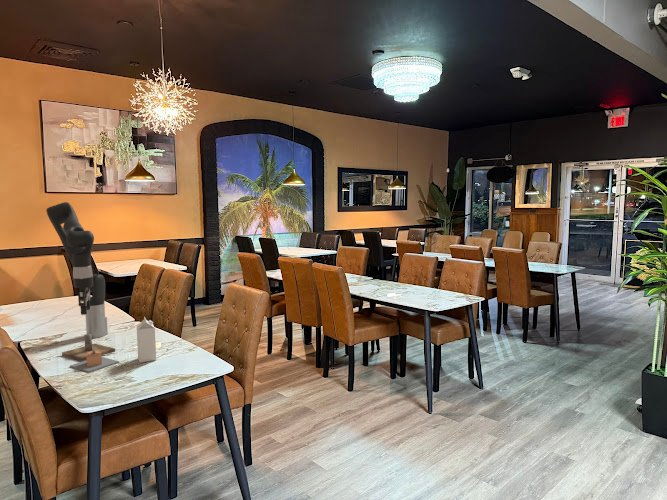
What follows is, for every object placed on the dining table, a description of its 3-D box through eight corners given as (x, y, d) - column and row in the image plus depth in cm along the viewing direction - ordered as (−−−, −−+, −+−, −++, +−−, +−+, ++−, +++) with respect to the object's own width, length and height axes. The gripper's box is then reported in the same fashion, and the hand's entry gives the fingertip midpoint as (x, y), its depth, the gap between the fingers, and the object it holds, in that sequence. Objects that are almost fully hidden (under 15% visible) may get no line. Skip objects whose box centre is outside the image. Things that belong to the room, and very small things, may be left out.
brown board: (94, 346, 227) (93, 328, 226) (115, 351, 219) (114, 333, 218) (62, 355, 213) (60, 336, 212) (82, 361, 205) (81, 341, 205)
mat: (100, 357, 210) (99, 356, 210) (119, 362, 204) (119, 361, 204) (69, 366, 198) (69, 365, 198) (89, 372, 191) (89, 371, 191)
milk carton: (139, 363, 203) (137, 321, 201) (137, 358, 209) (136, 317, 208) (156, 360, 206) (154, 319, 205) (154, 355, 213) (152, 315, 211)
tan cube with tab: (86, 362, 202) (86, 349, 201) (100, 360, 205) (100, 347, 204) (87, 366, 197) (86, 353, 197) (102, 364, 200) (101, 351, 199)
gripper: (76, 274, 207) (79, 309, 209) (70, 279, 194) (72, 316, 196) (95, 273, 210) (97, 307, 212) (89, 278, 196) (92, 315, 198)
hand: (85, 312), depth 204 cm, fingers open, 8 cm apart
